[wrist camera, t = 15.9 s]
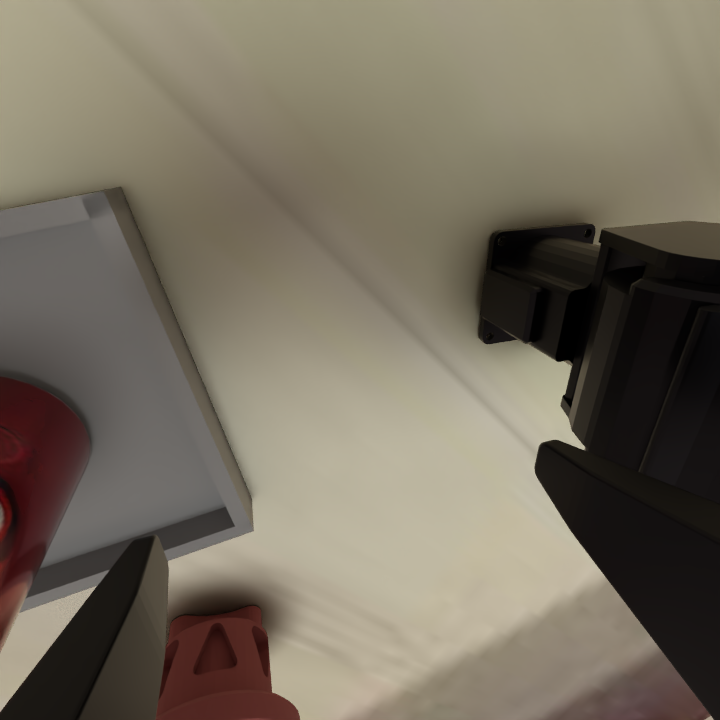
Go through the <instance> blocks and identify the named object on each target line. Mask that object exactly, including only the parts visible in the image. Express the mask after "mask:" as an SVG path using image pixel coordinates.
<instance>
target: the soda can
mask: <svg viewBox="0 0 720 720" xmlns="http://www.w3.org/2000/svg"><path fill="white" fill-rule="evenodd" d="M90 450H91V449H90V442H89V436H88V434H87V431H86V429H85V427H84V424H83V423H82V421H81V420H80V419H79V417H78V416H77V414H76V413H75V412H74V411H73V410H72V409H71V408H70V407H69V406H68V405H67V404H66V403H64V402H63V401H62V400H61V399H59V398H57V397H56V396H54V395H53V394H51V393H50V392H48V391H46V390H44V389H42V388H39V387H37V386H35V385H33V384H30V383H27V382H24V381H20V380H17V379H13V378H10V377H3V376H0V652H1V650H2V648H3V646H4V644H5V642H6V640H7V637H8V635H9V633H10V631H11V629H12V627H13V625H14V622H15V620H16V618H17V616H18V614H19V612H20V610H21V607H22V605H23V603H24V601H25V599H26V597H27V595H28V592H29V590H30V588H31V586H32V584H33V582H34V580H35V577H36V575H37V573H38V571H39V569H40V567H41V565H42V562H43V560H44V558H45V556H46V554H47V552H48V550H49V547H50V545H51V543H52V541H53V539H54V537H55V535H56V532H57V530H58V528H59V526H60V524H61V522H62V520H63V517H64V515H65V513H66V511H67V509H68V507H69V505H70V502H71V500H72V498H73V496H74V494H75V492H76V490H77V487H78V485H79V483H80V481H81V479H82V477H83V475H84V472H85V470H86V468H87V466H88V463H89V457H90Z"/></svg>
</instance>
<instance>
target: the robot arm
mask: <svg viewBox="0 0 720 720" xmlns="http://www.w3.org/2000/svg"><path fill="white" fill-rule="evenodd" d="M585 231H586V234H585V235H584V233H585ZM594 236H595V226H594V225H592V224H587V223H580V224H568V225H556V226H545V227H533V228H521V229H509V230H499V231H496V232H494V233H493V234H492V236H491V238H490V242H489V251H488V260H487V269H486V273H485V275H484V284H483V293H482V302H481V311H480V315H481V322H480V330H479V338H480V340H481V341H482V342H484V343H485V344H493V343H499V342H506V341H512V340H519V341H521V342H523V343H525V344H529V345H531V346H533V347H534V348H536V349H538V350H539V351H541V352H542V353H544V354H546V355H547V356H549V357H551V358H552V359H554V360H555V361H557V362H561V361H564V362H566V363H568V364H569V365H571V366H572V368H571V373H570V377H569V381H568V385H567V390H566V394H565V395H563V397H562V401H561V407H562V409H563V410H564V412H565V413H566V415H567V416H568V418H569V421H570V425H571V429H572V431H573V432H574V434H575V435H576V436H577V438H578V439H579V440H580V441H581V443H582V444H583V445H584V446H585V450H582V449H579V448H577V447H574V446H572V445H569V444H566V443H564V442H561V441H559V440H551V441H547V442H543V443H541V444H540V446H539V449H538V453H537V458H536V463H535V474H536V476H537V478H538V480H539V481H540V483H541V485H542V486H543V488H544V489H545V491H546V493H547V494H548V496H549V497H550V499H551V501H552V502H553V504H554V505H555V507H556V509H557V510H558V512H559V513H560V515H561V517H562V518H563V520H564V521H565V523H566V524H567V526H568V527H569V529H570V530H571V532H572V533H573V535H574V536H575V537H576V539H577V540H578V541H579V543H580V544H581V545H582V547H583V548H584V549H585V551H586V552H587V553H588V554H589V556H590V557H591V558H592V560H593V561H594V562H595V564H596V565H597V566H598V568H599V569H600V570H601V572H602V573H603V574H604V576H605V577H606V578H607V579H608V581H609V582H610V583H611V585H612V586H613V587H614V589H615V590H616V591H617V593H618V594H619V595H620V597H621V598H622V599H623V601H624V602H625V603H626V604H627V606H628V607H629V608H630V610H631V611H632V612H633V614H634V615H635V616H636V618H637V619H638V620H639V622H640V623H641V624H642V626H643V627H644V628H645V629H646V631H647V632H648V633H649V635H650V636H651V637H652V639H653V640H654V641H655V643H656V644H657V645H658V647H659V648H660V649H661V651H662V652H663V653H664V654H665V656H666V657H667V658H668V660H669V661H670V662H671V664H672V665H673V666H674V668H675V669H676V670H677V672H678V673H679V674H680V676H681V677H682V678H683V679H684V681H685V682H686V683H687V685H688V686H689V687H690V689H691V690H692V691H693V693H694V694H695V695H696V697H697V698H698V699H699V701H700V702H701V703H702V704H703V706H704V707H705V708H706V710H707V711H708V712H709V714H710V715H711V716H712V718H713V719H714V720H720V224H719V223H707V222H695V221H682V222H671V223H659V224H648V225H637V226H626V227H615V228H604V229H602V230H601V234H600V239H599V243H601V246H598V245H594V244H593V240H594ZM500 237H502V241H501V243H500V244H498V240H499V238H500ZM488 333H490V335H489V336H488V337H487V338H486V336H487V334H488ZM168 576H169V569H168V561H167V558H166V556H165V553H164V550H163V548H162V545H161V542H160V539H159V537H158V536H157V535H155V534H152V535H148V536H143V537H139V538H136V539H134V540H133V541H132V542H131V543H130V544H129V546H128V547H127V548H126V549H125V551H124V552H123V553H122V555H121V556H120V557H119V558H118V560H117V561H116V562H115V564H114V565H113V566H112V568H111V569H110V570H109V571H108V573H107V574H106V575H105V577H104V578H103V579H102V581H101V582H100V583H99V584H98V586H97V587H96V588H95V590H94V591H93V592H92V594H91V595H90V596H89V597H88V599H87V600H86V601H85V603H84V604H83V605H82V607H81V608H80V609H79V610H78V612H77V613H76V614H75V616H74V617H73V618H72V620H71V621H70V622H69V623H68V625H67V626H66V627H65V629H64V630H63V631H62V633H61V634H60V635H59V636H58V638H57V639H56V640H55V642H54V643H53V644H52V646H51V647H50V648H49V649H48V651H47V652H46V653H45V655H44V656H43V657H42V659H41V660H40V661H39V662H38V664H37V665H36V666H35V668H34V669H33V670H32V672H31V673H30V674H29V675H28V677H27V678H26V679H25V681H24V682H23V683H22V685H21V686H20V687H19V688H18V690H17V691H16V692H15V694H14V695H13V696H12V698H11V699H10V700H9V701H8V703H7V704H6V705H5V707H4V708H3V709H2V711H1V712H0V720H155V719H156V713H157V706H158V699H159V693H160V686H161V679H162V673H163V666H164V658H165V646H166V625H167V601H168Z"/></svg>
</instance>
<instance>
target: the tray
mask: <svg viewBox="0 0 720 720" xmlns="http://www.w3.org/2000/svg"><path fill="white" fill-rule="evenodd" d="M0 376H3V377H10V378H13V379H17V380H20V381H24V382H27V383H30V384H33V385H35V386H37V387H39V388H42V389H44V390H46V391H48V392H50V393H51V394H53V395H54V396H56V397H57V398H59V399H61V400H62V401H63V402H64V403H66V404H67V405H68V406H69V407H70V408H71V409H72V410H73V411H74V412H75V413H76V414H77V416H78V417H79V419H80V420H81V421H82V423H83V424H84V427H85V429H86V431H87V434H88V436H89V442H90V449H91V450H90V457H89V463H88V466H87V468H86V470H85V472H84V475H83V477H82V479H81V481H80V483H79V485H78V487H77V490H76V492H75V494H74V496H73V498H72V500H71V502H70V505H69V507H68V509H67V511H66V513H65V515H64V517H63V520H62V522H61V524H60V526H59V528H58V530H57V532H56V535H55V537H54V539H53V541H52V543H51V545H50V547H49V550H48V552H47V554H46V556H45V558H44V560H43V562H42V565H41V567H40V569H39V571H38V573H37V575H36V577H35V580H34V582H33V584H32V586H31V588H30V590H29V592H28V595H27V597H26V599H25V601H24V603H23V605H22V607H21V610H20V612H23V611H26V610H28V609H31V608H34V607H37V606H40V605H43V604H46V603H49V602H51V601H54V600H57V599H60V598H63V597H66V596H69V595H71V594H74V593H77V592H80V591H83V590H86V589H89V588H92V587H94V586H97V585H98V584H99V583H100V582H101V581H102V579H103V578H104V577H105V575H106V574H107V573H108V571H109V570H110V569H111V568H112V566H113V565H114V564H115V562H116V561H117V560H118V558H119V557H120V556H121V555H122V553H123V552H124V551H125V549H126V548H127V547H128V546H129V544H130V543H131V542H132V541H133V540H134V539H136V538H139V537H143V536H148V535H152V534H155V535H157V536H158V537H159V539H160V542H161V545H162V548H163V550H164V553H165V556H166V558H167V561H169V560H172V559H175V558H178V557H180V556H183V555H186V554H189V553H192V552H195V551H198V550H201V549H203V548H206V547H209V546H212V545H215V544H218V543H221V542H223V541H226V540H229V539H232V538H235V537H238V536H241V535H244V534H246V533H249V532H252V531H254V527H253V510H252V498H251V496H250V493H249V491H248V489H247V486H246V484H245V481H244V479H243V477H242V474H241V472H240V470H239V467H238V465H237V462H236V460H235V458H234V455H233V453H232V451H231V448H230V446H229V443H228V441H227V439H226V436H225V434H224V432H223V429H222V427H221V424H220V422H219V420H218V417H217V415H216V412H215V410H214V408H213V405H212V403H211V401H210V398H209V396H208V393H207V391H206V389H205V386H204V384H203V382H202V379H201V377H200V374H199V372H198V370H197V367H196V365H195V363H194V360H193V358H192V355H191V353H190V351H189V348H188V346H187V344H186V341H185V339H184V336H183V334H182V332H181V329H180V327H179V325H178V322H177V320H176V317H175V315H174V313H173V310H172V308H171V305H170V303H169V301H168V298H167V296H166V294H165V291H164V289H163V286H162V284H161V282H160V279H159V277H158V275H157V272H156V270H155V267H154V265H153V263H152V260H151V258H150V256H149V253H148V251H147V248H146V246H145V244H144V241H143V239H142V237H141V234H140V232H139V229H138V227H137V225H136V222H135V220H134V217H133V215H132V213H131V210H130V208H129V206H128V203H127V201H126V198H125V196H124V194H123V191H122V189H121V187H118V188H113V189H108V190H102V191H97V192H92V193H87V194H81V195H76V196H71V197H66V198H60V199H55V200H50V201H45V202H39V203H34V204H29V205H24V206H18V207H13V208H8V209H3V210H0ZM20 612H19V613H20Z"/></svg>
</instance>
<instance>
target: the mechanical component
mask: <svg viewBox="0 0 720 720" xmlns="http://www.w3.org/2000/svg"><path fill="white" fill-rule="evenodd" d="M155 720H300V716H299V713H298V710H297V709H296V707H295V706H294V705H293V704H292V703H291V702H289V701H288V700H286V699H285V698H283V697H281V696H279V695H277V694H275V693H272V686H271V673H270V660H269V647H268V637H267V633H266V631H265V630H264V628H263V627H262V619H261V610H260V608H258V607H256V606H247V607H244V608H241V609H239V610H236V611H232V612H228V613H224V614H218V615H210V616H191V615H183V616H180V617H178V618H176V619H175V620H173V621H172V623H171V624H170V632H169V639H168V644H167V645H166V646H165V658H164V666H163V673H162V679H161V686H160V693H159V699H158V706H157V713H156V719H155Z"/></svg>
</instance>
